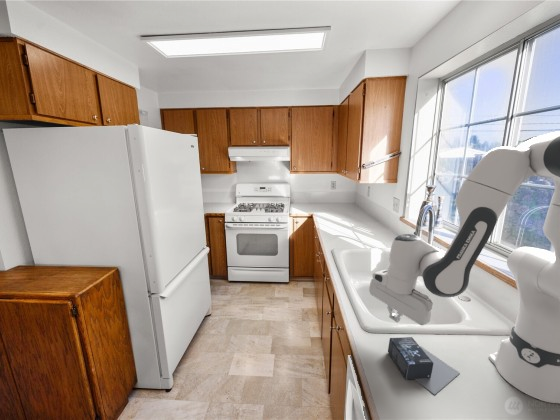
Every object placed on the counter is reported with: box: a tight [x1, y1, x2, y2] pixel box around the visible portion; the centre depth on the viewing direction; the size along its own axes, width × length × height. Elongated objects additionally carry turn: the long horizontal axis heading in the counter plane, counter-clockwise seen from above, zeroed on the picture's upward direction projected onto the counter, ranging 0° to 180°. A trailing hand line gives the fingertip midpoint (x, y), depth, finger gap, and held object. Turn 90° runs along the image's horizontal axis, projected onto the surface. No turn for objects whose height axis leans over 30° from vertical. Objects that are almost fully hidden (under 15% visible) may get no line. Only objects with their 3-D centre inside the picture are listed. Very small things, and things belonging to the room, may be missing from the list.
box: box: [387, 336, 433, 380], centre depth 76 cm, size 8×6×11 cm
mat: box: [414, 345, 461, 396], centre depth 75 cm, size 14×12×1 cm
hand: (394, 319), depth 82 cm, fingers closed
